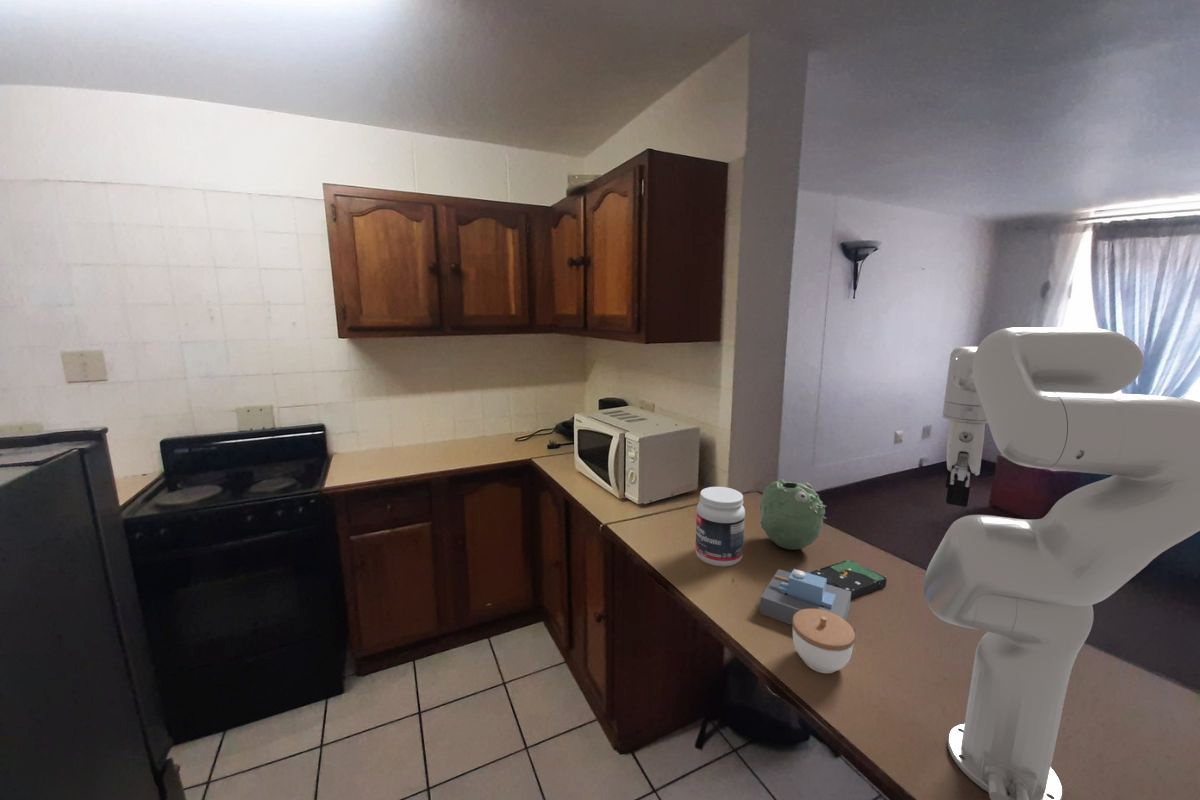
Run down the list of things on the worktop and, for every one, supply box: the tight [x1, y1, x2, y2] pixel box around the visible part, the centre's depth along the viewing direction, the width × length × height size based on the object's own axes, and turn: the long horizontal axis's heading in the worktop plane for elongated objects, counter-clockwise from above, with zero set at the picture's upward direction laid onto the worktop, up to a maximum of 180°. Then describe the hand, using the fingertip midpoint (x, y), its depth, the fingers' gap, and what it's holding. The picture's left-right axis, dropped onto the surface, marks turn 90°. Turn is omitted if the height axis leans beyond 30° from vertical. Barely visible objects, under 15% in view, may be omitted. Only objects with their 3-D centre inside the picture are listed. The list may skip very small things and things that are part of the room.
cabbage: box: [759, 478, 828, 550], centre depth 130 cm, size 16×19×20 cm
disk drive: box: [810, 559, 888, 600], centre depth 114 cm, size 10×3×15 cm
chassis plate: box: [759, 569, 851, 626], centre depth 103 cm, size 14×16×4 cm
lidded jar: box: [791, 609, 856, 675], centre depth 87 cm, size 11×11×9 cm
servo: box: [773, 568, 836, 608], centre depth 103 cm, size 13×4×9 cm, turn 54°
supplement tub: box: [694, 486, 746, 567], centre depth 125 cm, size 13×13×18 cm
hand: (955, 496), depth 90 cm, fingers open, 9 cm apart
